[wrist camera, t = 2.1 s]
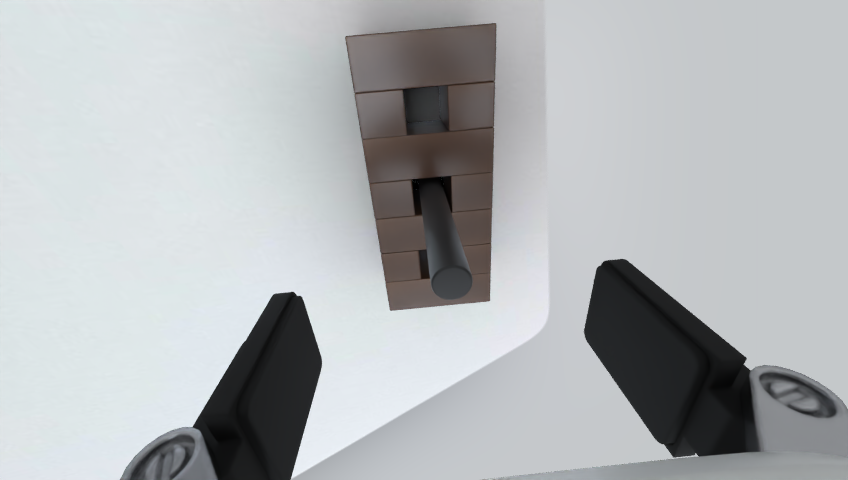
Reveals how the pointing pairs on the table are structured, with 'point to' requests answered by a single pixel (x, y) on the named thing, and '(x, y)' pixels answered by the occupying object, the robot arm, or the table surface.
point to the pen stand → (428, 148)
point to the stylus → (443, 243)
